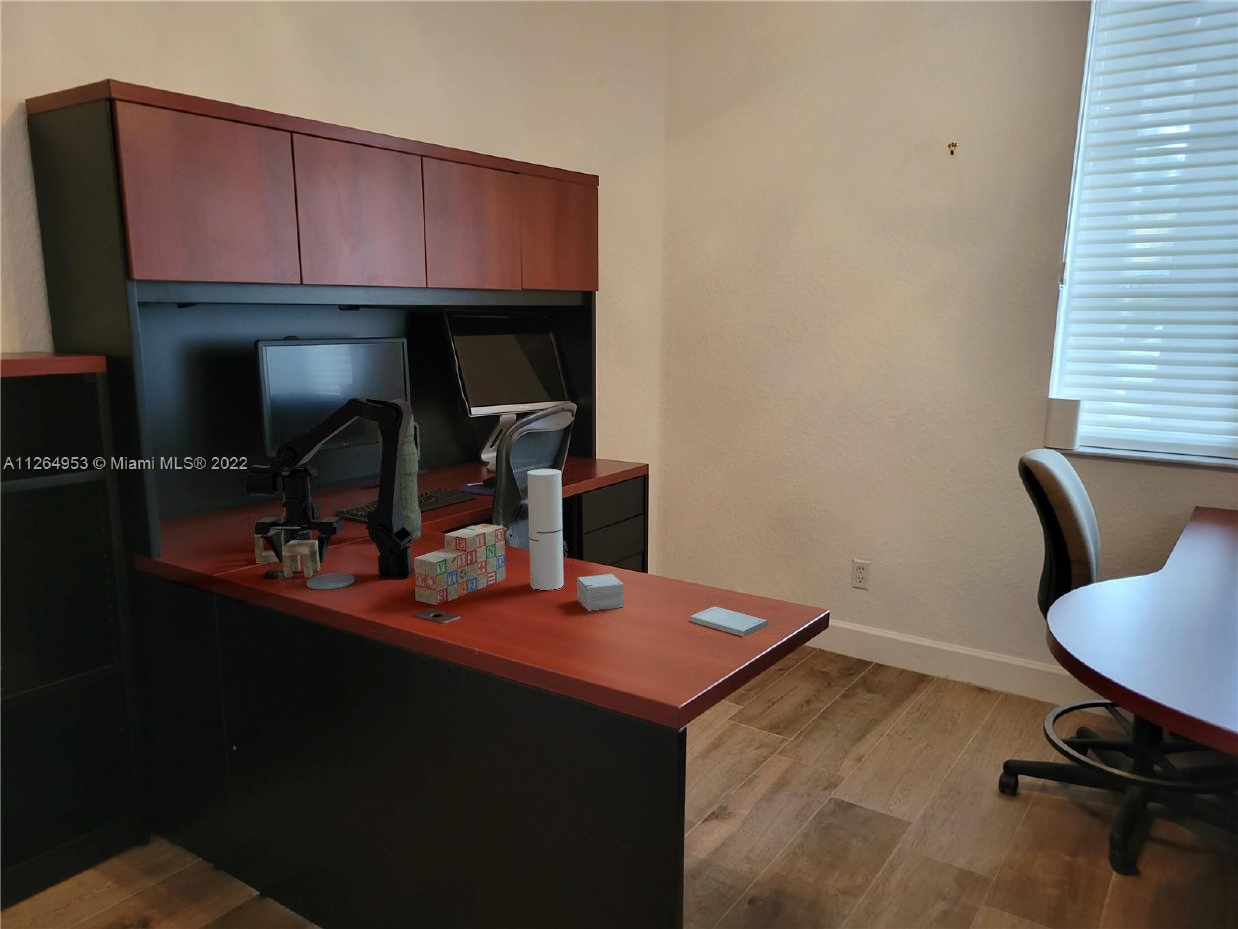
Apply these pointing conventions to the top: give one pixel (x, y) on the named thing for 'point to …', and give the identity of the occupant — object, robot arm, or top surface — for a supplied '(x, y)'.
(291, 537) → the supplement bottle
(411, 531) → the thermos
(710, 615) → the hard drive
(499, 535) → the stack of blocks
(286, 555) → the wooden stool
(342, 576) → the pad
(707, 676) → the top surface
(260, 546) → the upturned stool
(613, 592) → the stack of note paper
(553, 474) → the cylindrical container
